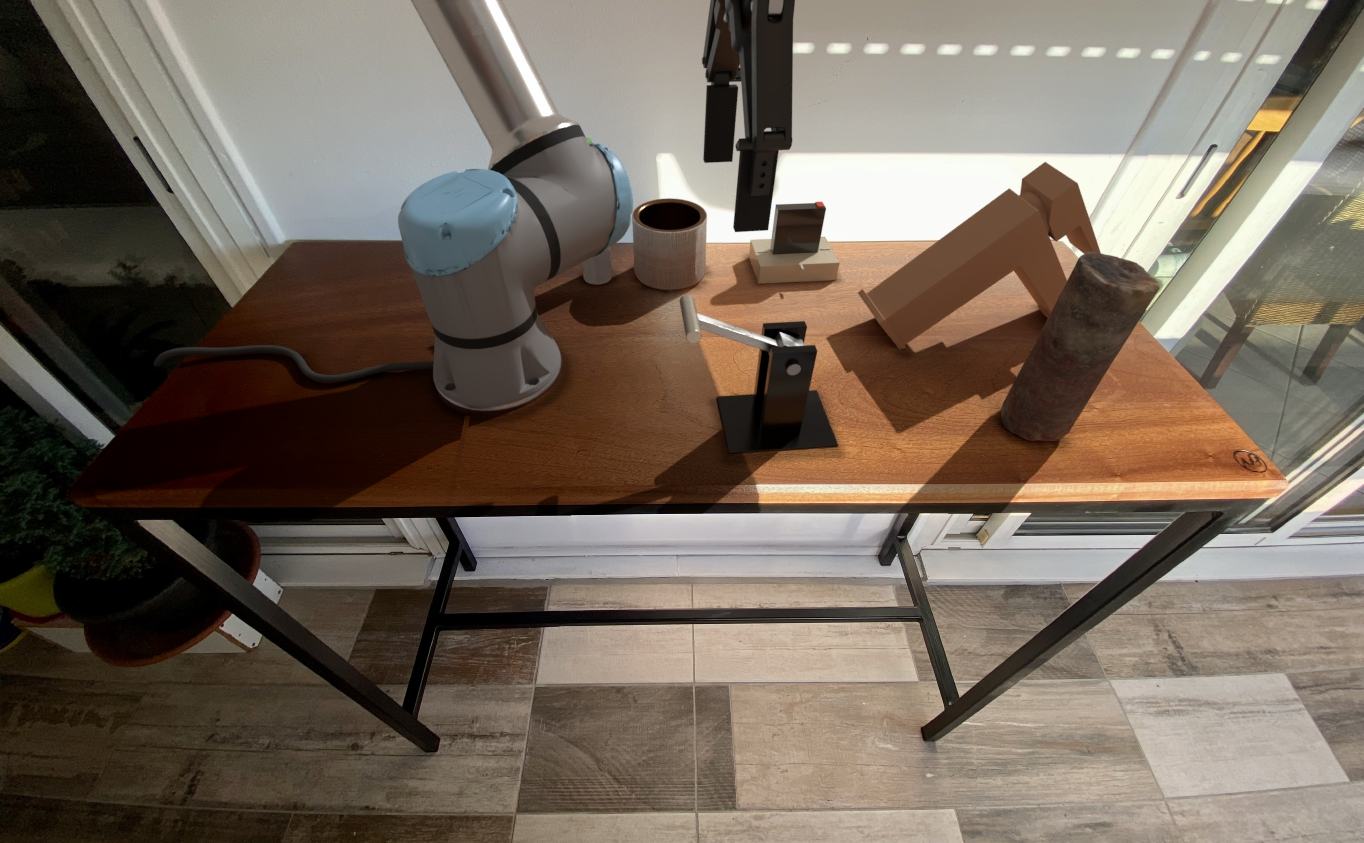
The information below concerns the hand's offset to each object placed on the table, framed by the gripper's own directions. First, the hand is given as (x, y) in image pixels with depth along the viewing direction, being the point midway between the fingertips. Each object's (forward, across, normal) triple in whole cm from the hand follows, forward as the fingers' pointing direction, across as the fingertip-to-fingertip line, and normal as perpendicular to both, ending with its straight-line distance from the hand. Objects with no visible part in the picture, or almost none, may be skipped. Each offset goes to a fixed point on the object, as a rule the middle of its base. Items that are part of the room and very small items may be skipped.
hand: (732, 192), depth 53 cm
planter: (+26, +30, +1) cm, 40 cm away
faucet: (+26, +10, -37) cm, 46 cm away
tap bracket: (+26, -5, -6) cm, 27 cm away
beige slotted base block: (+26, +28, -18) cm, 42 cm away
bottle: (+26, +30, +12) cm, 42 cm away
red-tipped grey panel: (+23, +29, -18) cm, 41 cm away
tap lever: (+14, -5, -1) cm, 14 cm away
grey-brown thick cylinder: (+26, -8, -36) cm, 45 cm away
